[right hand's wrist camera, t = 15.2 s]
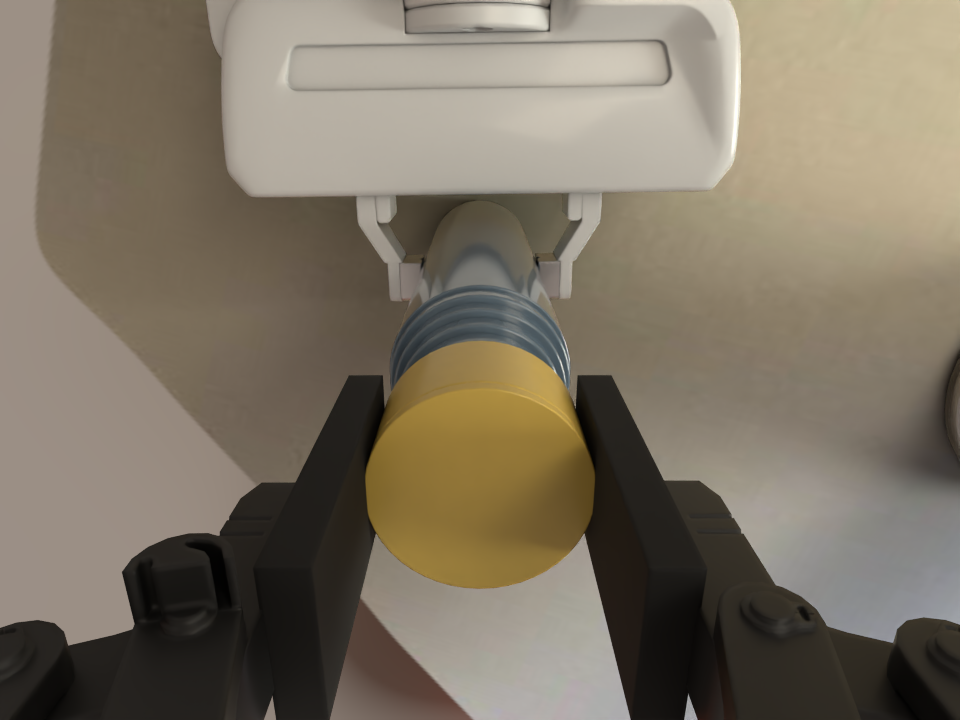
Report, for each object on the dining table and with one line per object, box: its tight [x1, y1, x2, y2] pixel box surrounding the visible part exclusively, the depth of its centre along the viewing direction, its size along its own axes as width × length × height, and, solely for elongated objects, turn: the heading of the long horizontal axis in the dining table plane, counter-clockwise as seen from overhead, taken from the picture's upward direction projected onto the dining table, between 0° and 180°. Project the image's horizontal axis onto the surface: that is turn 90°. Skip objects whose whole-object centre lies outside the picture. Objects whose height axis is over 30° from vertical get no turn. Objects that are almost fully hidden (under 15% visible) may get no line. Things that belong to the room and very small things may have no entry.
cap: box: [365, 341, 595, 589], centre depth 14 cm, size 4×4×3 cm
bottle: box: [390, 200, 570, 392], centre depth 24 cm, size 5×5×24 cm
